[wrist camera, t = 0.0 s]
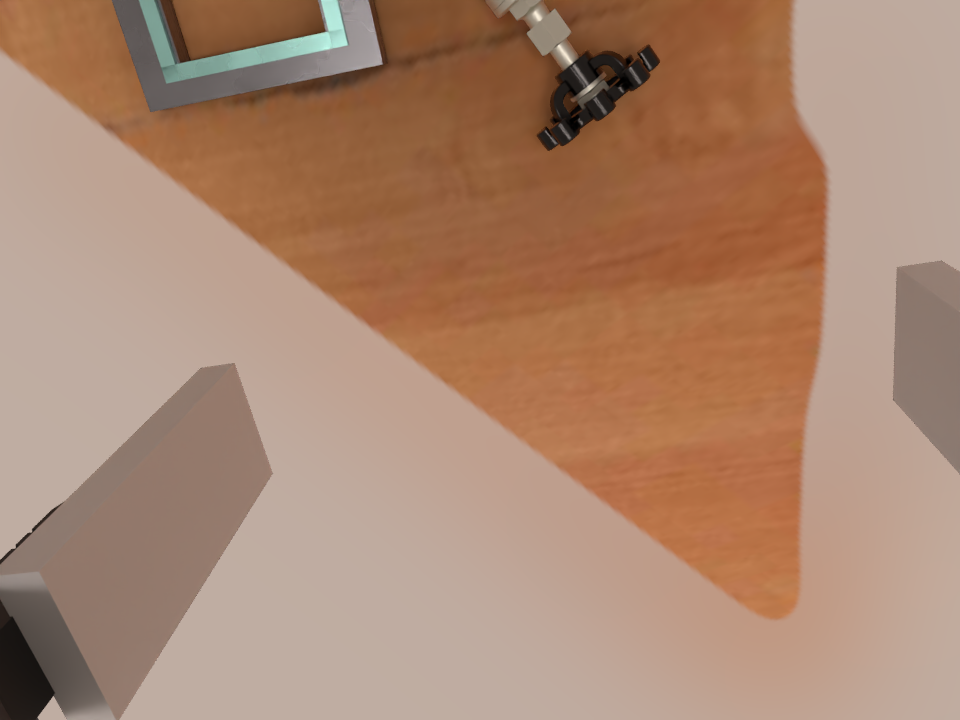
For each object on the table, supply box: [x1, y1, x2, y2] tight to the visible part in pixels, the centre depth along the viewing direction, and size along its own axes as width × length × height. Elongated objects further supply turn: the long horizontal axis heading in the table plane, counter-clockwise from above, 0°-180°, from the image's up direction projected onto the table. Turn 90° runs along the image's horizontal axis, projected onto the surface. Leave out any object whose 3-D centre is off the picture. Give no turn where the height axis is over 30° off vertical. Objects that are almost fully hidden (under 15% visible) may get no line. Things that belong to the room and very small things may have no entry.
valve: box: [485, 0, 660, 151], centre depth 35 cm, size 7×7×12 cm
